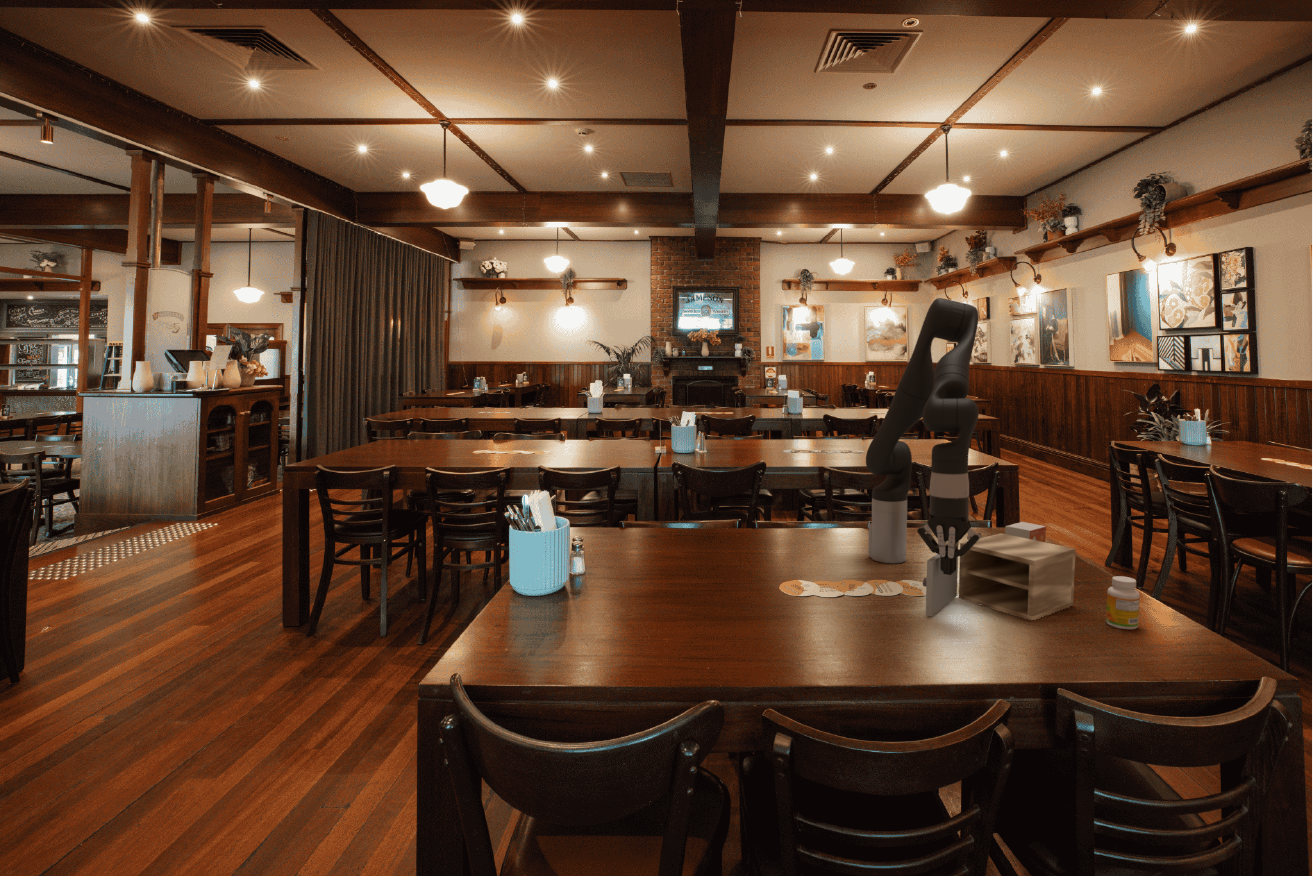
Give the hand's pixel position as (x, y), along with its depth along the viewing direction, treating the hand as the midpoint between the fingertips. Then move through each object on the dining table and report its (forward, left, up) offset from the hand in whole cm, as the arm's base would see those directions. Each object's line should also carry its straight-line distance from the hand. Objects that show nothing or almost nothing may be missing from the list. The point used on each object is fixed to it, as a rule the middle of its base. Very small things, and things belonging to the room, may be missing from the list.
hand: (948, 573), depth 139 cm
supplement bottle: (+22, +26, -10) cm, 35 cm away
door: (-5, +4, -9) cm, 11 cm away
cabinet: (+2, +21, -10) cm, 23 cm away
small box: (-7, +41, -10) cm, 42 cm away
